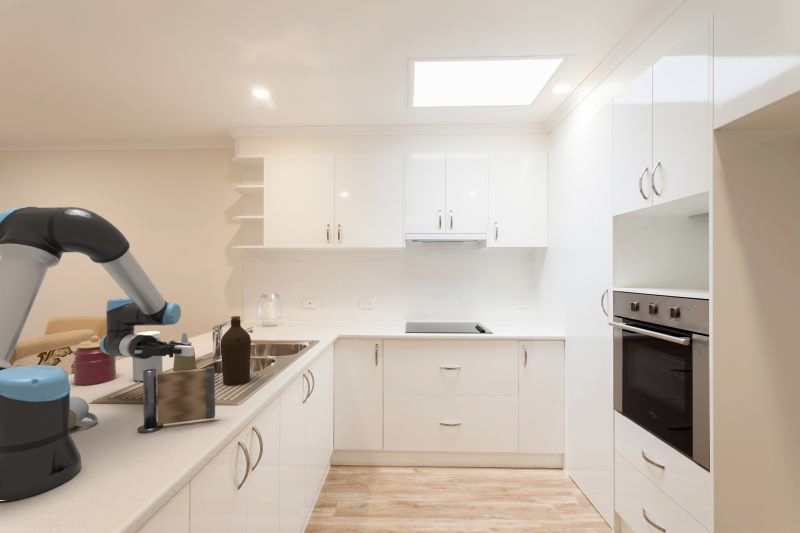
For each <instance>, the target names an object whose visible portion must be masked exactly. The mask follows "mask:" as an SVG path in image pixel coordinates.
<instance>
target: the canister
mask: <svg viewBox="0 0 800 533" xmlns="http://www.w3.org/2000/svg"><path fill="white" fill-rule="evenodd" d="M101 339H102V338H101ZM101 339H100V337H99V336H98V335H95V334H94V335H92V336H91V337H90V339H89V340H86V341H84V340H83V341H81V342H79V344H77V345H76V346H75V348H76V350H75V351H73V352H72V355H73V356H74V360H73V361H72V363H73V382H74V385H77V386H91V385H92V386H93V385H99V384H103V383H107V382H110V381H112V380H114V379H116V375H117V369H116V368H117V367H116V366H117V365H116V358H117V356H112V355H109V354H105V353H104V352H102V351H101V349H100V346H99V343H100V341H101Z"/></svg>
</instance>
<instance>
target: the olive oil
mask: <svg viewBox="0 0 800 533" xmlns="http://www.w3.org/2000/svg"><path fill="white" fill-rule="evenodd" d="M230 318H231V320H230V327H229V328H228V329H227V331H226V332H224V334H223V336H222V337H221V339H220V353H221V356H220V357H221V372H222V384H223V385H224V386H227V387H230V386H231V387H232V386H233V387H234V386H240V385H244V384H247V383H249V382H250V381H251V380H250V379H251V353H252V351H251V350H252V349H251V348H252V339H251V336H250V334H249V333H248V332H247V330H245V328H243V326H241V321H242V320H241V316H240V315H233V316H231V317H230Z"/></svg>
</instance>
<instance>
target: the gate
mask: <svg viewBox="0 0 800 533" xmlns="http://www.w3.org/2000/svg"><path fill="white" fill-rule="evenodd" d="M215 374H216V373H215V366H214V365H213V366H211V365H210V366H206V367H205V368H197V369H195V370H184V371H173V370H172V371H165V372H164V371H162V372H161V373H158V374H157V379H156V394H157V422H158V425H161V424H163V425H167V424H169V425H170V424H176V423H185V422H193V421H199V420H210V419H215V417H216V389H215V388H216V386H215V385H216V382H215V381H216V380H215V376H216V375H215Z"/></svg>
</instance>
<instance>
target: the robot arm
mask: <svg viewBox="0 0 800 533" xmlns="http://www.w3.org/2000/svg"><path fill="white" fill-rule="evenodd" d="M130 247H131V244H130V242H129V241H128V239H127V237H126V236H125V235H124V234H123V233H122V231H120V230H119V229H118V228H117V227H116V226H115V225H114V224H112V223H111V221H109V220H107V219H105V218H104V217H103V216H102V215H99V214H97V212H94V211H92V210H89V209H85V208H82V207H77V206H76V207H75V206H65V207H62V206H61V207H60V206H59V207H53V206H52V207H38V206H22V207H13V208H9V209H7V210H4V211H3V212H1V213H0V500H6V501H5V502H8V501H7V500H11V501H16V499H17V500H21V499H24V498H28V497H32V496H35V495H39V494H41V493H44V492H46V491H49V490H51V489H54V488H57V487H58V486H60V485H62V484H64V483H66V482H67V481H69V480H70V479H72V478H73V477H75V476H76V475H77V474H78V473H79V472H80V471H81V469H82V457H81V453H80V451H79V450H78V448H77V445H76V443H75V442H74V439H73V438H72V435H71V429H70V397H71V394H70V393H71V385H70V381H69V380H70V379H69V374H68V372H67V370H65V369H64V368H62V367H60V366H55V365H50V364H33V365H18V366H12V364H11V363H10V360H11V359H12V357H13V353H14V352H15V348H16V347H17V344H18V341H19V339H20V337H21V334H22V332H23V329H24V327H25V325H26V322H27V320H28V318H29V315H30V313H31V311H32V308H33V305H34V303H35V300H36V298H37V295H38V294H39V292H40V289H41V287H42V283H43V281H44V280H45V277H46V274H47V272H48V269H49V268H53V267H55V266H58V265H59V264H60V261H61V258H62V256H63V254H64V253H80V254H83V255H85V256H87V257H89V259H90V260H91V261H92V262H93V263H96V264H100V265H101V266H102V267H103V269H104V270H105V271H106V272H107V273H108V274H109V276H110V277H112V279H113V281H114V282H115V283H117V285H118V286H119V288H120V289H121V290H122V291H123V292H124V293H125V294H126V296H127V297H112V298H109V299H108V300H107V301H106V311H105V313H106V315H105V316H106V332H105V333H106V334H105V335H103V336H102V337H101V341H100V343H99V346H100V349H101V351H102V352H104V353H105V354H109V355H112V356H116V357H124V358H125V357H126V358H131V359H132V360H133V359H135V358H139V359H148V358H150V357H152V356H162V357H166V356H168V357H169V358H174V356H175V355H180V356H189V357H190V356H194V352H195V346H192V345H191V346H185V344H183V343H180V342H177V341H175V340H170V341H168V342H166V341H162V340H159V341H157V339H156V338H155V337H153V336H150V335H141V334H136V333H135V327H138V326H144V327H145V326H163V327H164V326H172V325H176V324H177V323H178V322H179V321H180V319H181V316H182V309H181V307H180V306H181V305H180V304H178V303H176V302H172V301H171V302H167V300H166V299H165V298H164V296H163V295H162V293H161V291H159V289H158V287H157V286H156V285H155V284H154V283H153V281H152V280H151V278H150V277H149V276H148V274H147V273H146V271H145V270H144V269H143V267H142V266H141V264H140V263H139V262H138V259H136V257H135V256H134V255H133V253H132V252H131V251H130Z"/></svg>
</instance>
